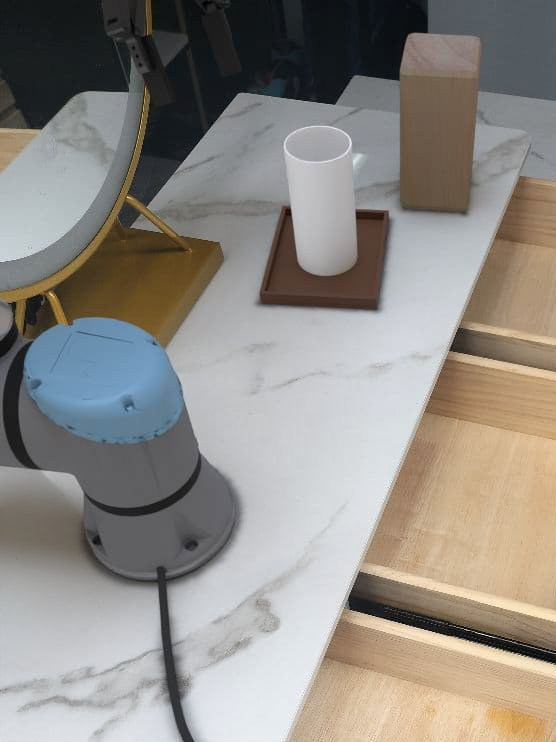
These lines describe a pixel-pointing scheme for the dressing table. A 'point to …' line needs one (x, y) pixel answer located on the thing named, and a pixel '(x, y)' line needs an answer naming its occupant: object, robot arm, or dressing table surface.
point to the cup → (322, 199)
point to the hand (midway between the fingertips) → (200, 89)
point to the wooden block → (438, 120)
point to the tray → (343, 290)
